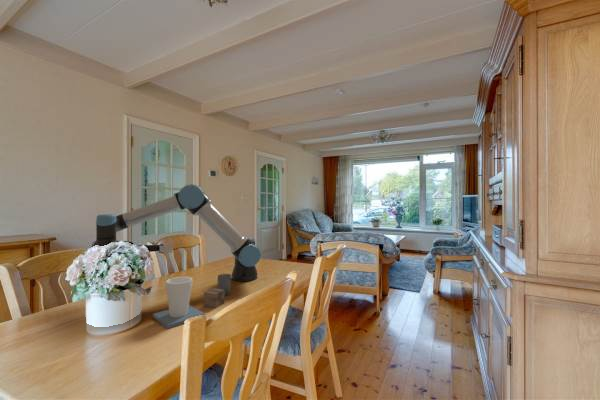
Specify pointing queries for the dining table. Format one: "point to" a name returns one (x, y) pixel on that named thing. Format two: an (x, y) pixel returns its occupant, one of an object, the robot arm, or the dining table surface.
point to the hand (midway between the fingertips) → (159, 252)
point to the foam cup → (178, 295)
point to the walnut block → (214, 297)
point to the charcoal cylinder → (224, 283)
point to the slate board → (175, 321)
